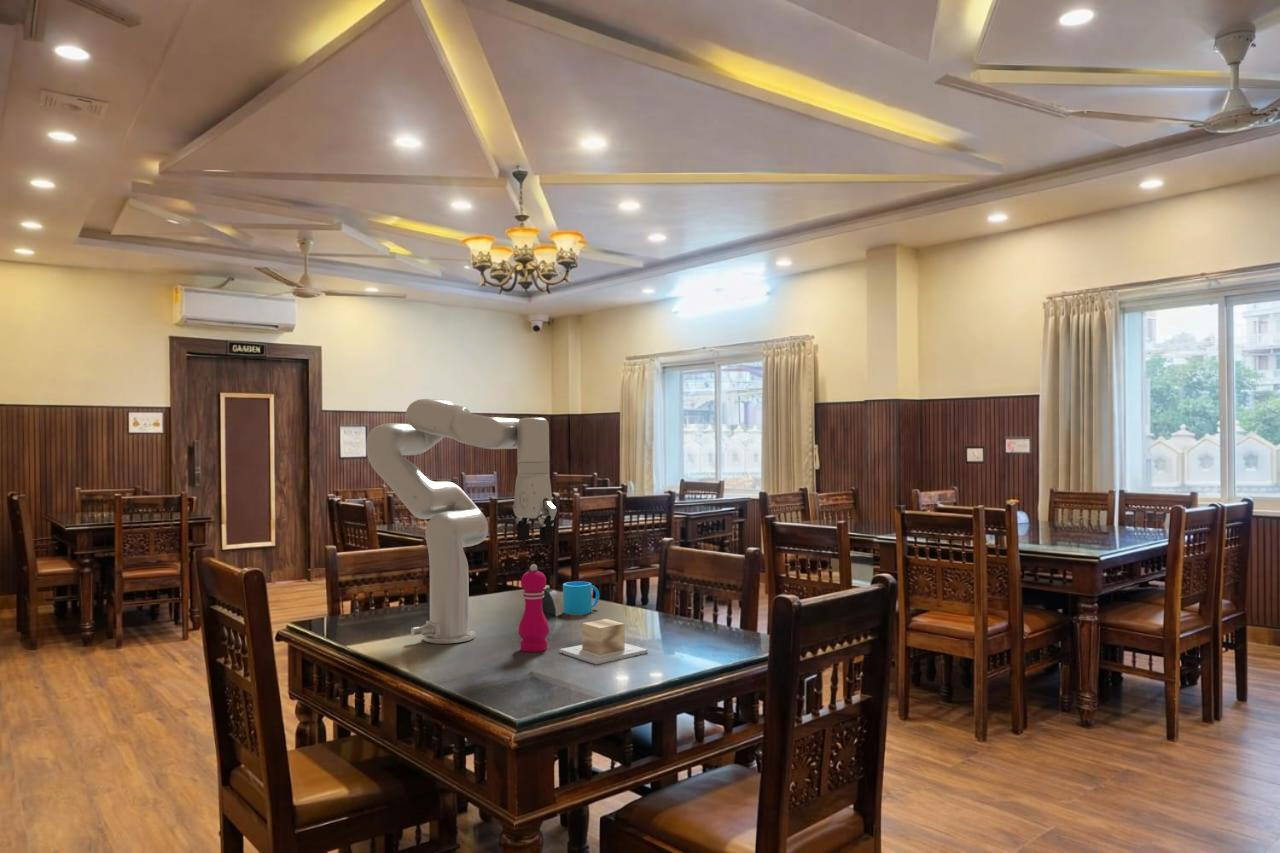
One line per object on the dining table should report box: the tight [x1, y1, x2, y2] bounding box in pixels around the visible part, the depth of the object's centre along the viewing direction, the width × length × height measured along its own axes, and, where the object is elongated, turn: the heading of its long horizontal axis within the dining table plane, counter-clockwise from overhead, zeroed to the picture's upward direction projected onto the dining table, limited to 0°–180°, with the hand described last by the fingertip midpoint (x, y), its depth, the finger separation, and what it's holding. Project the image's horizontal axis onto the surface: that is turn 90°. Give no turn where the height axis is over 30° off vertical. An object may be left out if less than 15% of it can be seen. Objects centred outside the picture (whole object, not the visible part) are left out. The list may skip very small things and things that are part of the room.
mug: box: [562, 581, 601, 615], centre depth 244 cm, size 12×8×8 cm
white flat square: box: [559, 642, 649, 665], centre depth 196 cm, size 15×14×1 cm
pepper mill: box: [518, 563, 550, 653], centre depth 200 cm, size 7×7×20 cm
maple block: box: [581, 618, 626, 655], centre depth 196 cm, size 7×7×6 cm
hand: (534, 541), depth 200 cm, fingers open, 9 cm apart
